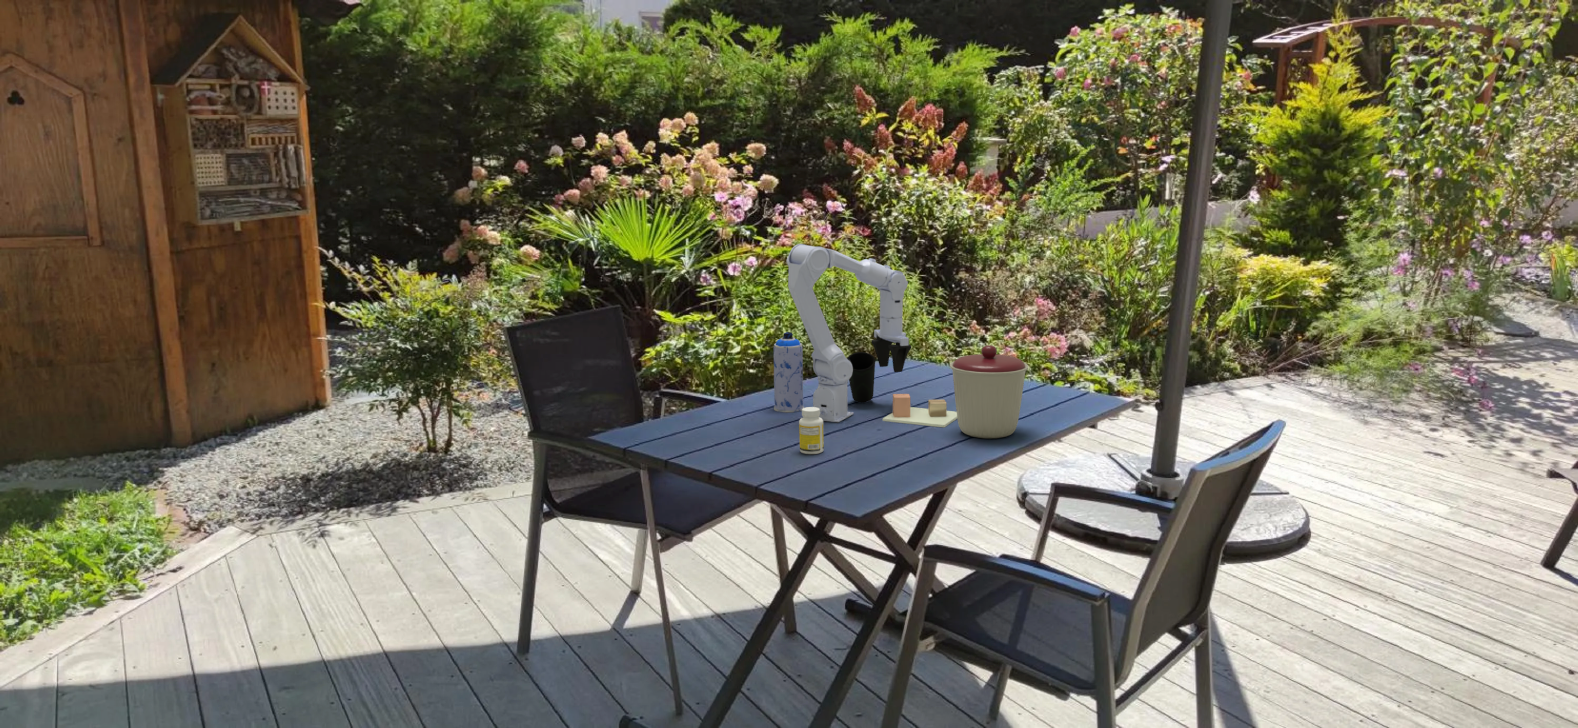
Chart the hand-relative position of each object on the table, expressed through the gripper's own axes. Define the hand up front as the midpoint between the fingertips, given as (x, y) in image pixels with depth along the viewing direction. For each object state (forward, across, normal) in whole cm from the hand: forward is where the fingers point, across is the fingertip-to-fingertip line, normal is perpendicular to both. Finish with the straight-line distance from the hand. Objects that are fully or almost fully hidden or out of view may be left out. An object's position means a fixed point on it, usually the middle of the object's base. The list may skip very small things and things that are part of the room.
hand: (890, 369), depth 291 cm
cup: (+9, +10, +3) cm, 14 cm away
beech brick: (+10, -14, -6) cm, 18 cm away
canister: (+10, -33, -8) cm, 35 cm away
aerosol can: (+10, +11, +24) cm, 28 cm away
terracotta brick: (+10, -10, +3) cm, 14 cm away
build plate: (+10, -13, -2) cm, 17 cm away
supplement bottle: (+11, -28, +36) cm, 47 cm away
